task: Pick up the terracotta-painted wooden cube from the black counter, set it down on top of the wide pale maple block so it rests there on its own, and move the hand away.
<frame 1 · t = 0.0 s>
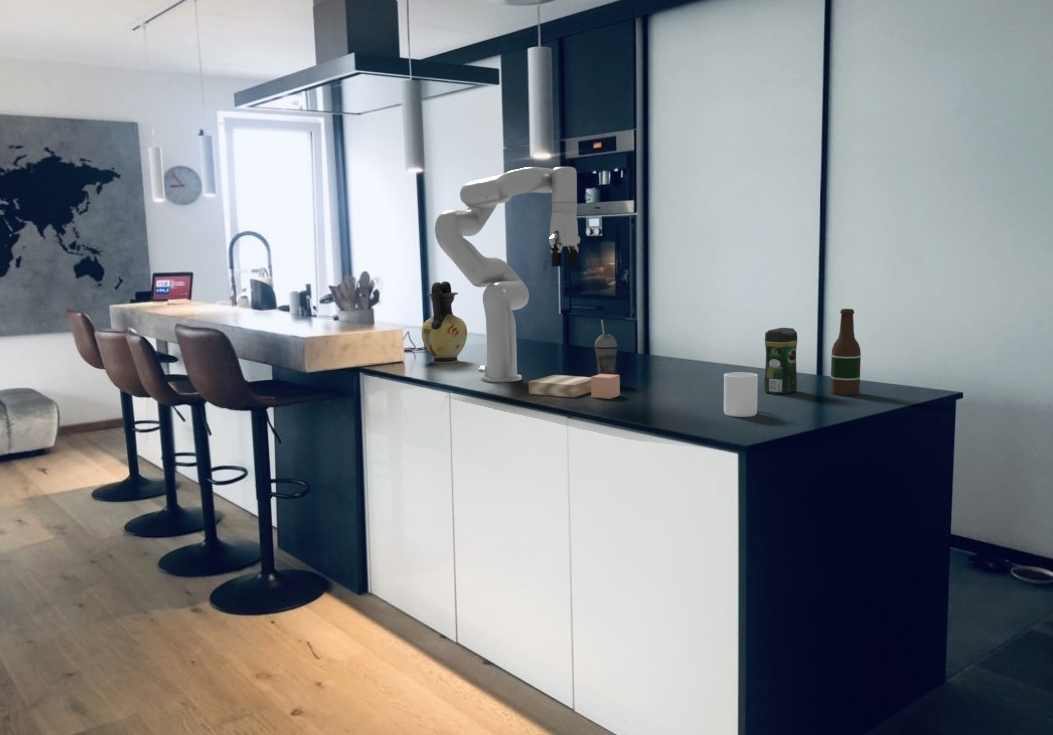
hand: (565, 265, 282), 37 cm above the table, tool pointing down, fingers open, 9 cm apart
coffee jar: (780, 392, 267), on the table
maple block: (563, 393, 275), on the table
cup: (743, 413, 237), on the table
terracotta cube: (605, 396, 265), on the table
beer bottle: (844, 394, 262), on the table
amphora: (445, 362, 346), on the table
beverage cup: (606, 384, 287), on the table
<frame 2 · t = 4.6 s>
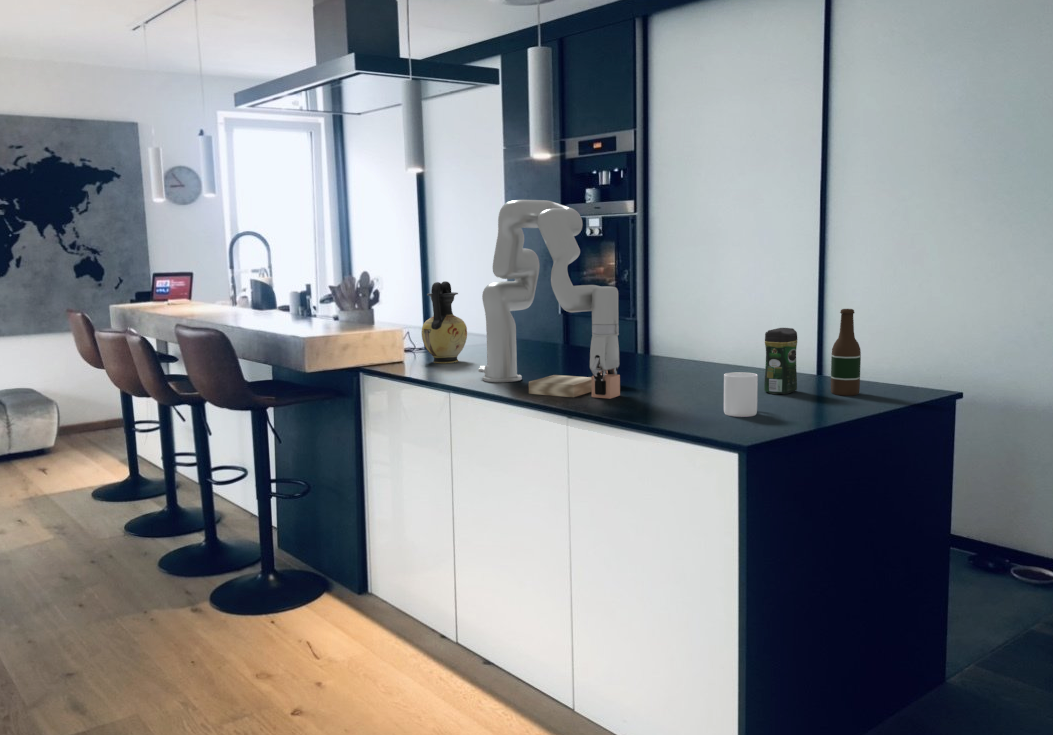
hand: (605, 392, 265), 1 cm above the table, tool pointing down, fingers closed on terracotta cube, 6 cm apart
terracotta cube: (605, 396, 265), on the table, touching gripper
everything else where it was.
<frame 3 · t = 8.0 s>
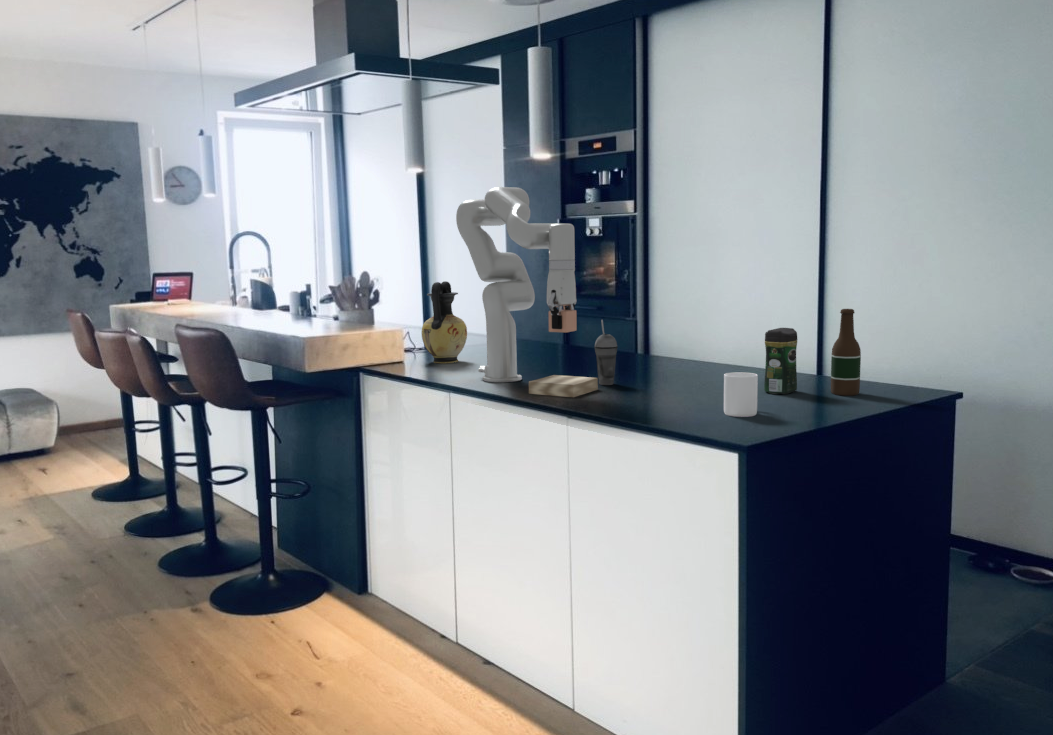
hand: (562, 327, 272), 19 cm above the table, tool pointing down, fingers closed on terracotta cube, 6 cm apart
terracotta cube: (562, 331, 272), point 18 cm above the table, touching gripper
everything else where it was.
when the fingers open (5 cm above the table, at t = 11.7 s): terracotta cube stays where it is, resting on maple block.
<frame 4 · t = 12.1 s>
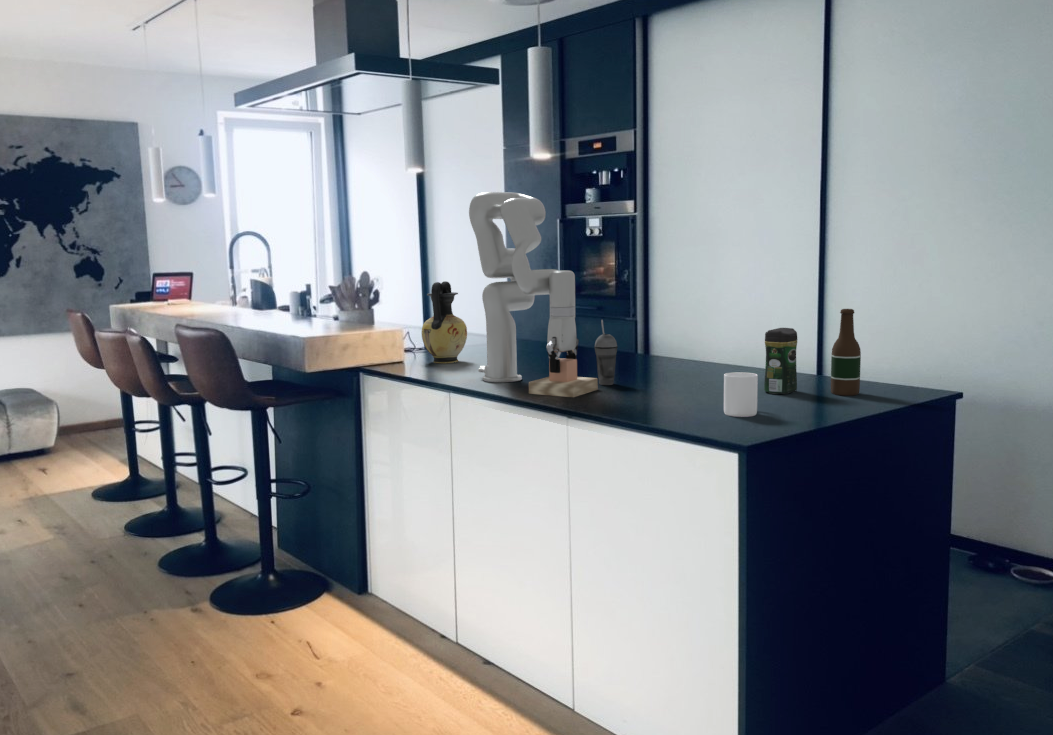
hand: (563, 370, 274), 6 cm above the table, tool pointing down, fingers open, 9 cm apart
maple block: (563, 393, 275), on the table, touching terracotta cube
terracotta cube: (563, 380, 274), point 3 cm above the table, touching maple block
everything else where it was.
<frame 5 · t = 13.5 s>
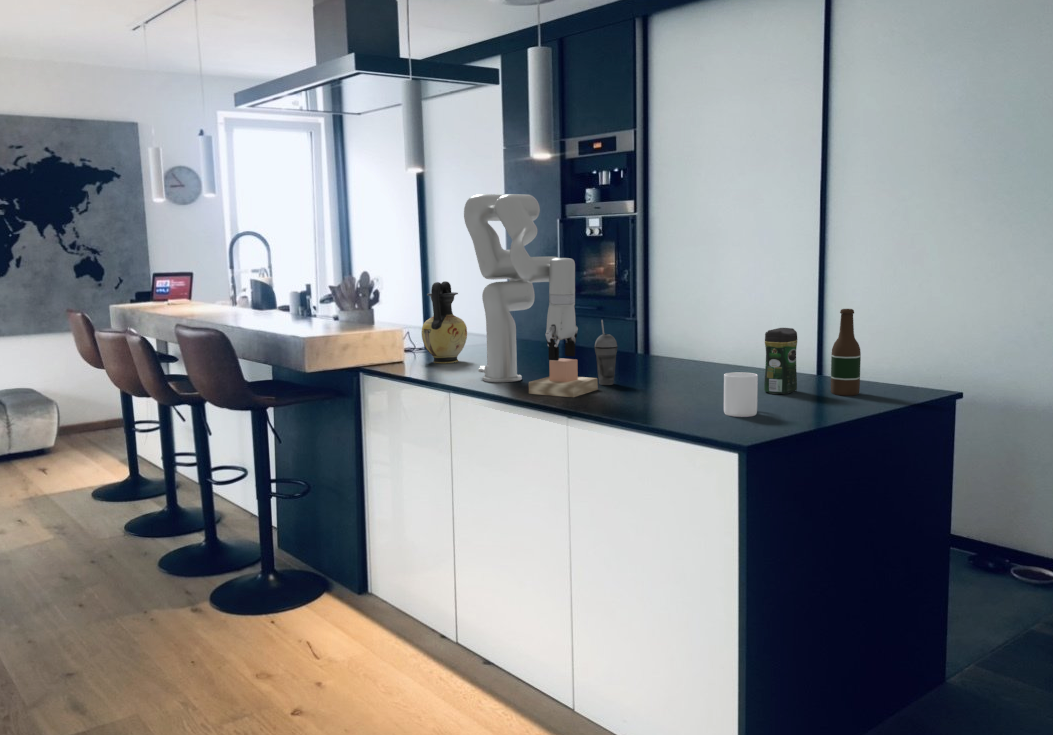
hand: (562, 358, 274), 10 cm above the table, tool pointing down, fingers open, 9 cm apart
nothing on the table moved.
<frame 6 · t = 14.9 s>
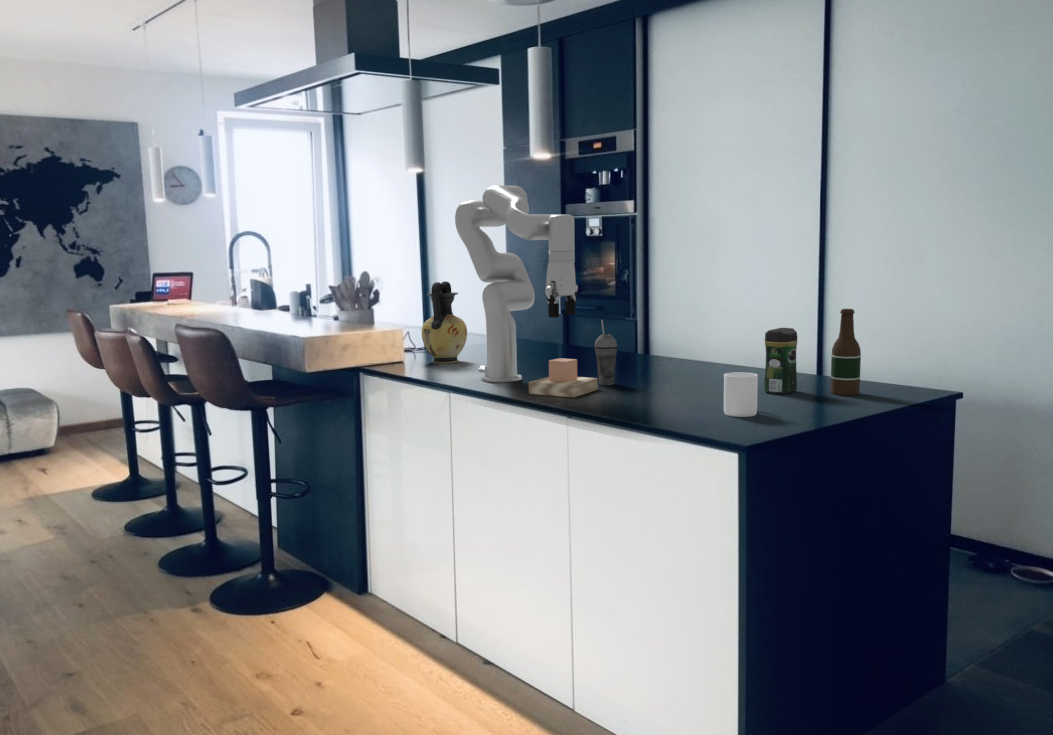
hand: (562, 315, 272), 22 cm above the table, tool pointing down, fingers open, 9 cm apart
maple block: (563, 393, 275), on the table
terracotta cube: (563, 380, 274), point 3 cm above the table
everything else where it was.
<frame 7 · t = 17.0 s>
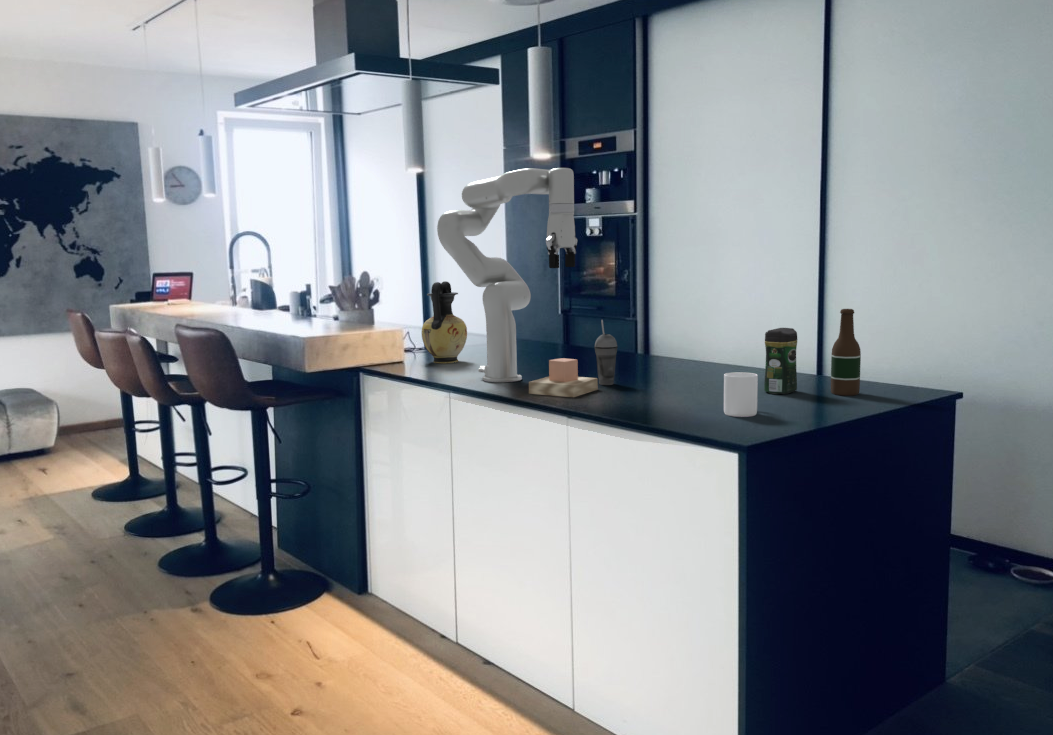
hand: (562, 267, 280), 36 cm above the table, tool pointing down, fingers open, 9 cm apart
nothing on the table moved.
at the end: terracotta cube inside the target area on the maple block (0.1 cm from its centre), point 4.0 cm above the maple block's base; terracotta cube touching maple block; the gripper is holding nothing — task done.
